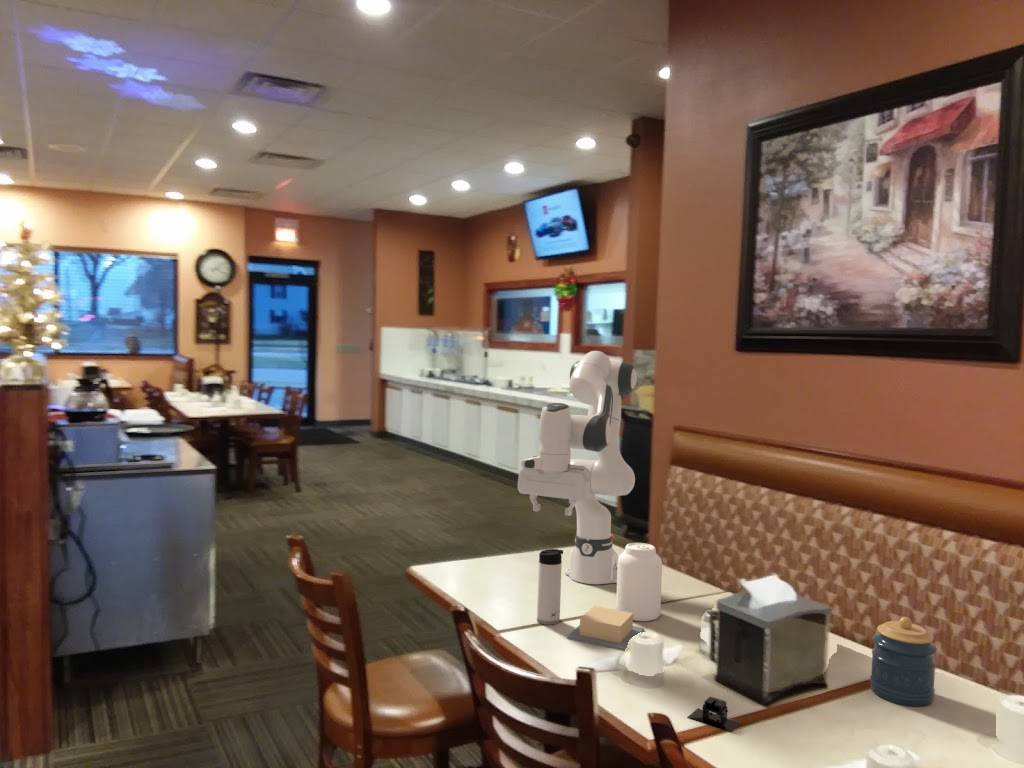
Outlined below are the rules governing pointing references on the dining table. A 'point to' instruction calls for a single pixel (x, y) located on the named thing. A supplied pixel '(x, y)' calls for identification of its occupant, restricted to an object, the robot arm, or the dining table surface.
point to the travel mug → (549, 587)
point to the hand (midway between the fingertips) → (552, 513)
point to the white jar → (639, 582)
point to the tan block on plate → (606, 628)
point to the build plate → (714, 715)
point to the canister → (903, 663)
